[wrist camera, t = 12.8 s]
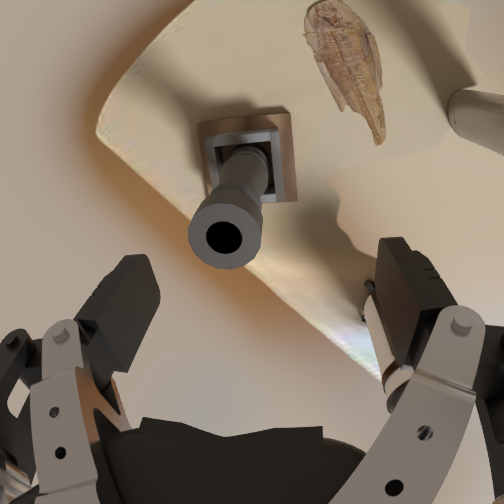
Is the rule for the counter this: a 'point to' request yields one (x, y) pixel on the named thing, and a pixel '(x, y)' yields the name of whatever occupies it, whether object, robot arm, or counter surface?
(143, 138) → the counter surface
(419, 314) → the robot arm
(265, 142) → the collar socket
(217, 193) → the candle holder
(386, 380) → the coffee press
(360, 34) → the fish fossil
